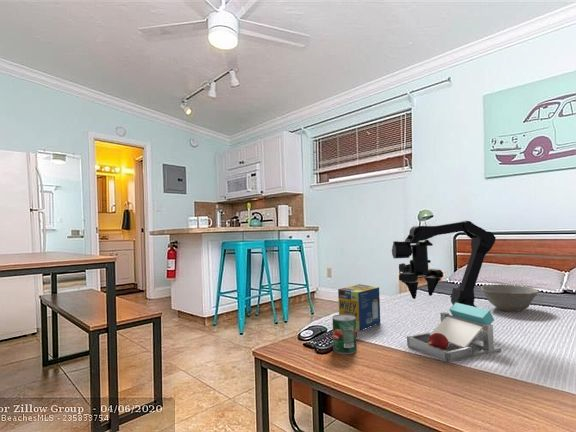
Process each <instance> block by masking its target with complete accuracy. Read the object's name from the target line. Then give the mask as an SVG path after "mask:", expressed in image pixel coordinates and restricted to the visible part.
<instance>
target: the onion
mask: <svg viewBox="0 0 576 432" xmlns="http://www.w3.org/2000/svg"><path fill="white" fill-rule="evenodd" d="M427 344H430V345H432V346H435V347H437V348H440V349H442V350H445V351H447V349H448V348H449V343H448V339H447V338H446V337H445V336H444V335H443V334H440V333H434V334H432V335H431V336H430V337H429V340H428V342H427Z"/></svg>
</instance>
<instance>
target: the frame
mask: <svg viewBox="0 0 576 432" xmlns="http://www.w3.org/2000/svg"><path fill="white" fill-rule="evenodd" d="M439 314H440V323H441V322H442V321H443V320H444V319H445V318H446V317H447V314H449V315H450V312H446V311H445V312H440V313H439ZM482 327H483V329H482V340H478V339H475V338H474V339H473V341H472V342H471V343H470V344H469V345H468V346H467V347H465V348H461V347H459V348H458V349H453V350H448V351H447V350H442V349H440V348H437V347H435V346H432V345H430V344H428V340H429V337H430V335H429V334H430V333H431V332H429V331H428V332H424V333H423V332H422V333H419V334H413V335H409V336H406V344H407V345H406V346H407V347H409V348H412V349H415V350H417V351H418V352H419V351H420V352H422V353H424V354H426V355H428V356H430V357H432V358H435V359H438V360H440V361H442V362H443V363H446V364H452V363H455V362H460V361H462V360H463V361H464V360H467V359H471V358H472V359H475V358H478V357H482V356H485V355H492V354H496V353H500V352H502V347H500V346H497V345H495V344H494V343H495V342H494V325H493V324H492V323H491V324H483V325H482ZM471 345H472V346H471ZM474 346H475V347H474ZM472 347H474V348H477V349H479V350H477V351H473V352H472Z"/></svg>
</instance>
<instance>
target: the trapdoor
mask: <svg viewBox="0 0 576 432" xmlns="http://www.w3.org/2000/svg"><path fill="white" fill-rule="evenodd" d="M450 313H451V314H450ZM494 321H495V319H494V316H493V315H492V313H491V311H490V309H485V308H482V307H478V306H476V307H473V306H469V305H464V304H460V303H455V304H454V305H453V304H452V306H451V307H450V308H449V314H447V317H446V318H445V319H444V320H443V321H442V322H441V321H440V323H439V324H438V325H437V326H436V327H435V328H434V329H433V330H432V331H431V332H430V334H429V335H430V336H431V335H432V334H434V333H440V334H443V335H444V336H445V337H446V338H447V339H448V344H450V345H451V344H452V345H453V346H457V347H459V348H465V347H469V346H470V345H469V344H470V343H471V342H472V341H473V339H475V338H476V337H477V336H478V335H479V334H480V332H482V331H483V327H482V325H483V324H491V325H492V324H493V322H494Z"/></svg>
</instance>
